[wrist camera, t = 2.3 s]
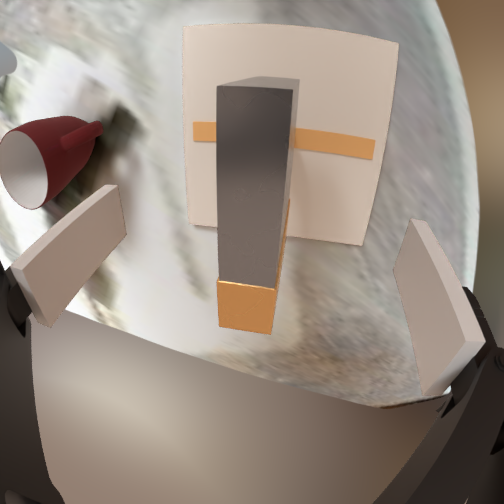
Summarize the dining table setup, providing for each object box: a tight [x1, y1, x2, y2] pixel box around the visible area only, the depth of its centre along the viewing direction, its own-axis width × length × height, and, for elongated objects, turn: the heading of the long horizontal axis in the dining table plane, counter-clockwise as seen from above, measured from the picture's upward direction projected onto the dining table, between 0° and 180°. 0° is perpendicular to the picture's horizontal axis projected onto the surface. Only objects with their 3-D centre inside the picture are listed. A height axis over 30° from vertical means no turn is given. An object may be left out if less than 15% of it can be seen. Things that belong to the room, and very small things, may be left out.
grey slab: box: [216, 76, 300, 335], centre depth 15 cm, size 11×3×9 cm, turn 178°
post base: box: [183, 23, 399, 246], centre depth 22 cm, size 20×18×8 cm
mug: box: [0, 116, 103, 210], centre depth 24 cm, size 11×8×10 cm
